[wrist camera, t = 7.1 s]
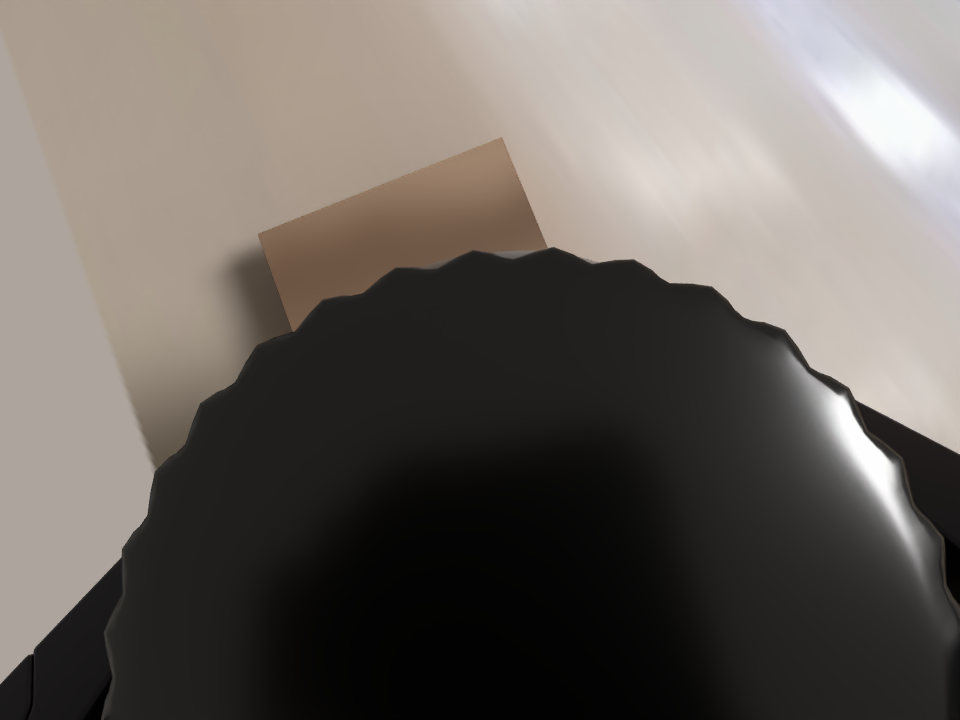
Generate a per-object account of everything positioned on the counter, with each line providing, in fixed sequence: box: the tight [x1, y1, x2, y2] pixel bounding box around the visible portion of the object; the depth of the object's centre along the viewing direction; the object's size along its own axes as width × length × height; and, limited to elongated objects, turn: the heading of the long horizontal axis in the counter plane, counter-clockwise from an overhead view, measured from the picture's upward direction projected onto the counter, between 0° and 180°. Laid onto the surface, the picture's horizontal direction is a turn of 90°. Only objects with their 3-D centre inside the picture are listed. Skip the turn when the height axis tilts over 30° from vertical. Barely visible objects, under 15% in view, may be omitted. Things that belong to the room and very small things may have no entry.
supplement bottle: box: [101, 247, 960, 720], centre depth 9 cm, size 7×7×12 cm
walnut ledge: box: [258, 137, 547, 332], centre depth 20 cm, size 20×9×3 cm, turn 21°
